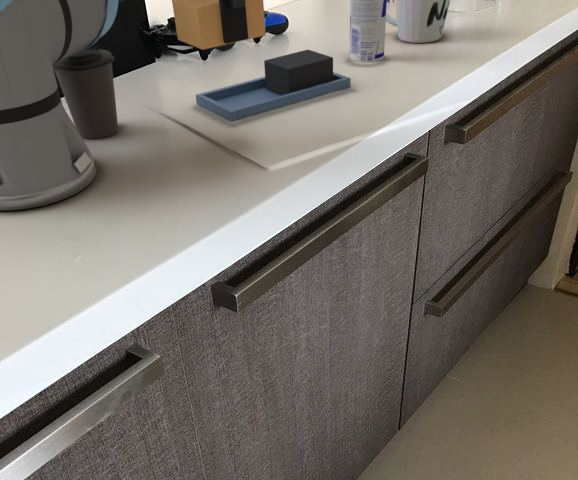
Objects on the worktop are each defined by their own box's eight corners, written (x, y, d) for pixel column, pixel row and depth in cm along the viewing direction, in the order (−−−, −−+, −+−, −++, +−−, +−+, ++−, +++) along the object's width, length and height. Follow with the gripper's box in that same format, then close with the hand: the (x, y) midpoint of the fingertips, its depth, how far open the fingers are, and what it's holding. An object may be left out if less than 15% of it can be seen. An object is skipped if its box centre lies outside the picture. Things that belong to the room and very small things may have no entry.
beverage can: (390, 62, 107) (395, -47, 98) (358, 67, 106) (361, -43, 96) (374, 54, 111) (378, -52, 102) (343, 59, 110) (344, -48, 100)
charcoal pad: (289, 99, 94) (288, 69, 92) (265, 89, 98) (263, 60, 95) (333, 86, 98) (333, 57, 95) (308, 77, 101) (308, 49, 99)
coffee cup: (138, 122, 92) (123, 43, 85) (110, 144, 86) (92, 61, 79) (87, 119, 93) (68, 41, 87) (56, 140, 88) (33, 59, 81)
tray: (232, 125, 89) (231, 111, 88) (196, 107, 95) (195, 94, 94) (350, 90, 98) (350, 77, 97) (310, 76, 104) (310, 64, 103)
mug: (437, 48, 112) (443, -20, 106) (357, 40, 119) (359, -25, 112) (458, 32, 119) (465, -32, 113) (381, 26, 125) (384, -36, 119)
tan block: (202, 49, 71) (196, 7, 68) (177, 39, 75) (171, -1, 72) (266, 35, 74) (262, -6, 71) (239, 26, 78) (235, -13, 75)
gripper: (282, -265, 54) (296, 44, 69) (179, -243, 66) (210, 15, 82) (201, -263, 51) (234, 59, 66) (109, -241, 64) (155, 27, 79)
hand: (221, 34), depth 74 cm, fingers closed on tan block, 6 cm apart
